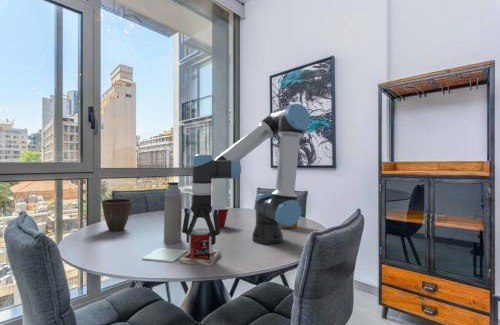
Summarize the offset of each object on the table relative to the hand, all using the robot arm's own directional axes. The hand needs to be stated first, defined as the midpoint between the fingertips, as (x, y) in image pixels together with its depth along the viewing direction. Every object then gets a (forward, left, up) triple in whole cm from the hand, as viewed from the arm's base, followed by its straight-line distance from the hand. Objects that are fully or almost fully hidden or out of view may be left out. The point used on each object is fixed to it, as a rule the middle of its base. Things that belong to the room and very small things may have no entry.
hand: (200, 251), depth 111 cm
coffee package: (-29, -63, -3) cm, 70 cm away
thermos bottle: (+22, -20, -3) cm, 30 cm away
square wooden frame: (0, 0, -3) cm, 3 cm away
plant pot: (+61, -32, -3) cm, 69 cm away
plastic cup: (+9, -54, -3) cm, 55 cm away
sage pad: (+15, 0, -3) cm, 15 cm away
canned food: (0, 0, -3) cm, 3 cm away
